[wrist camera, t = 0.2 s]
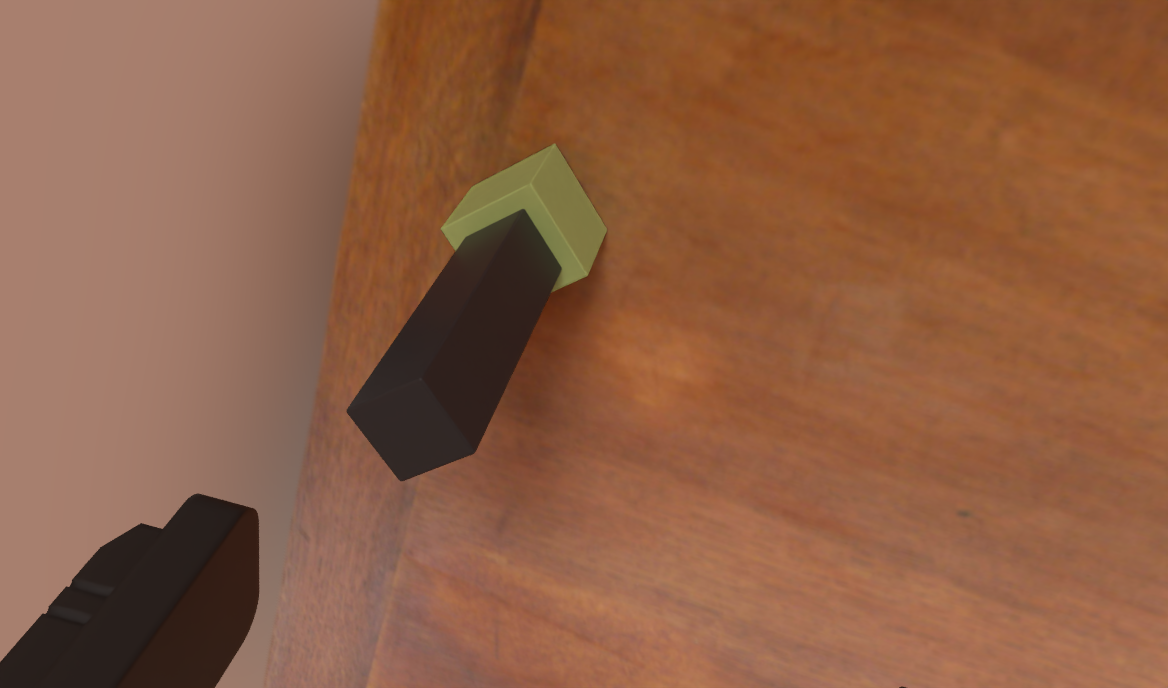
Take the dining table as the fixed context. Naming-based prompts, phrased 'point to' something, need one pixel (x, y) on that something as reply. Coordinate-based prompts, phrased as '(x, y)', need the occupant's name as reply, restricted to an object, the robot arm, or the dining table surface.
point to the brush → (478, 313)
